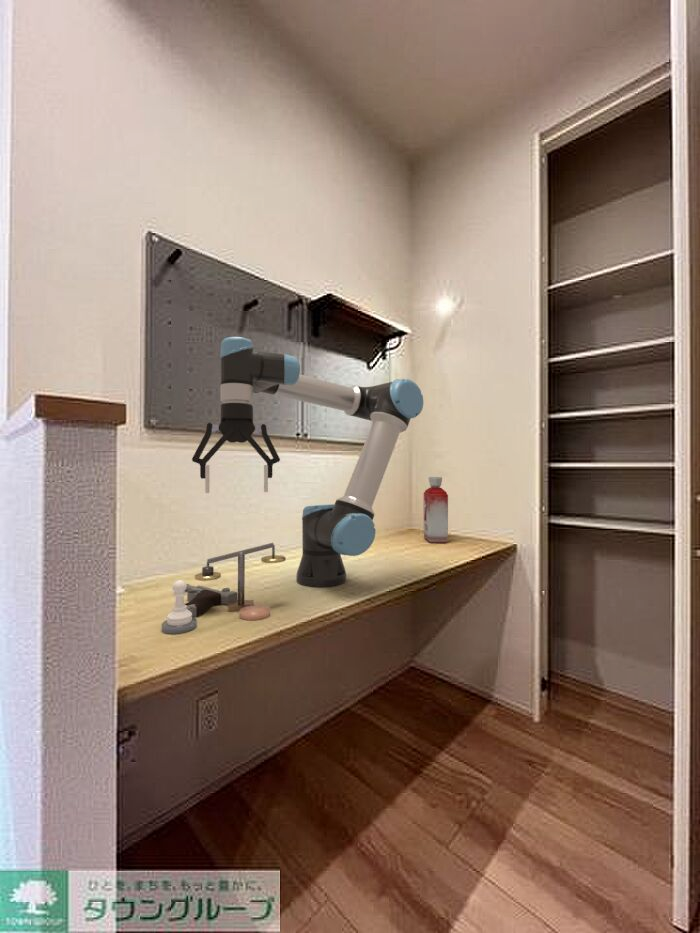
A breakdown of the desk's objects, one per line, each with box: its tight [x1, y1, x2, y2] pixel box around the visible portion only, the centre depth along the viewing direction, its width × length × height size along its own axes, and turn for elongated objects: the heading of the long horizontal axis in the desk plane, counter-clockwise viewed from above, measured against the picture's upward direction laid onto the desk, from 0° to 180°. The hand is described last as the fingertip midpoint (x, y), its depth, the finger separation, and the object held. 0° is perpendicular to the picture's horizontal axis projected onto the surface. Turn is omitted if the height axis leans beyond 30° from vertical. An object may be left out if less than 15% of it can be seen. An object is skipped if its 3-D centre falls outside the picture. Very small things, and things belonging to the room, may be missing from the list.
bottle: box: [422, 476, 449, 544], centre depth 200 cm, size 14×10×30 cm
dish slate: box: [161, 617, 198, 635], centre depth 92 cm, size 7×7×1 cm
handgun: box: [185, 583, 238, 618], centre depth 110 cm, size 3×24×15 cm
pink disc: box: [238, 604, 271, 621], centre depth 100 cm, size 7×7×1 cm
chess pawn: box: [166, 579, 192, 626], centre depth 92 cm, size 5×5×9 cm
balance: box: [194, 542, 287, 613], centre depth 105 cm, size 22×6×16 cm, turn 105°
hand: (237, 492), depth 103 cm, fingers open, 13 cm apart
